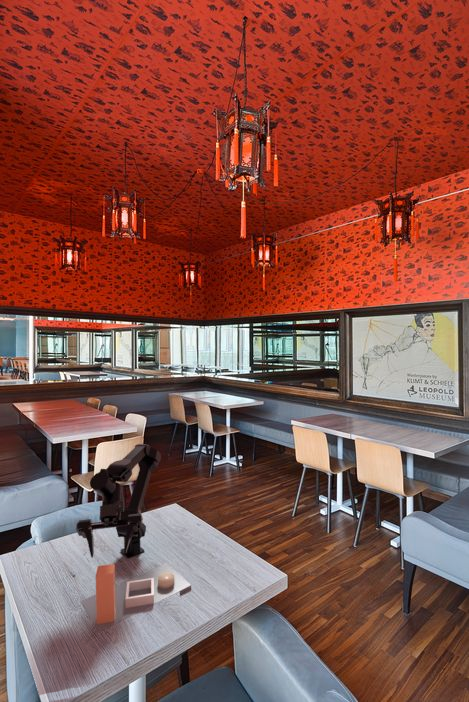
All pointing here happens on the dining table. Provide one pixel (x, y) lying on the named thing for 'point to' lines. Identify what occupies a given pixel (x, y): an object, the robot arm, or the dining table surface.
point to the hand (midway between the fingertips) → (108, 555)
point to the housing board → (140, 594)
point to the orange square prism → (105, 593)
